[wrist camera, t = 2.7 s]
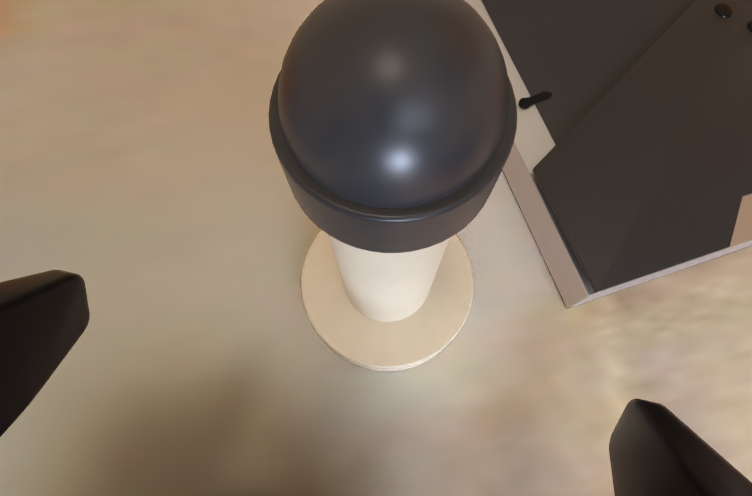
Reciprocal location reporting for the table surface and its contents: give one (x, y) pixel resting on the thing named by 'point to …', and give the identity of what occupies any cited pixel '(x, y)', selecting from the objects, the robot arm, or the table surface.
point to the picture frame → (628, 134)
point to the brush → (391, 167)
